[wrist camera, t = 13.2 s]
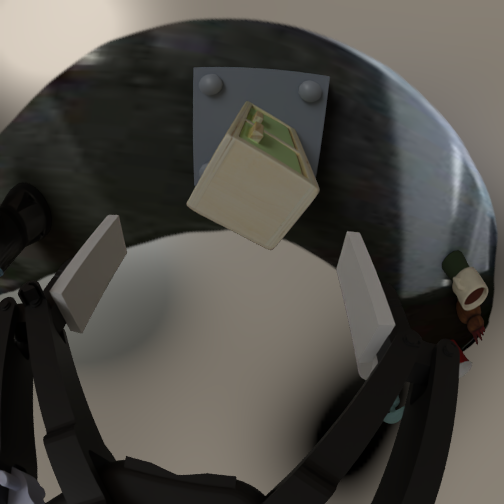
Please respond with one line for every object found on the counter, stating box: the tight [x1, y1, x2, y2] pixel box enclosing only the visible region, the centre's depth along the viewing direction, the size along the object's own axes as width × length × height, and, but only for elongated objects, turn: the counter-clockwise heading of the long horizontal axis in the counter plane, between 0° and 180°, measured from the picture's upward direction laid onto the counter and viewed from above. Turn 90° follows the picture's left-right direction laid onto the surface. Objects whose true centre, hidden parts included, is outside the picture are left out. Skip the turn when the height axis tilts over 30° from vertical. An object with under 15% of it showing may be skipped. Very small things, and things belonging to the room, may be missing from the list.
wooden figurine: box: [456, 300, 485, 344], centre depth 56 cm, size 7×6×15 cm
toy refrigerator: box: [187, 101, 320, 250], centre depth 29 cm, size 8×7×21 cm
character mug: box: [442, 251, 488, 311], centre depth 50 cm, size 11×7×13 cm, turn 73°
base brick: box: [193, 67, 330, 186], centre depth 39 cm, size 18×18×7 cm
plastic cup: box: [451, 340, 472, 378], centre depth 70 cm, size 11×11×12 cm
